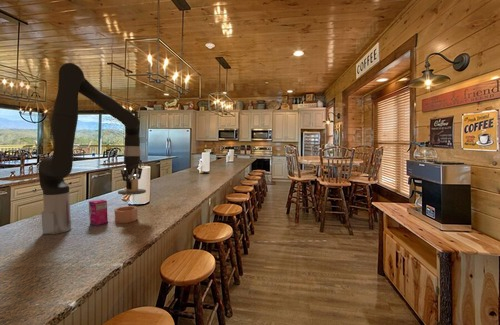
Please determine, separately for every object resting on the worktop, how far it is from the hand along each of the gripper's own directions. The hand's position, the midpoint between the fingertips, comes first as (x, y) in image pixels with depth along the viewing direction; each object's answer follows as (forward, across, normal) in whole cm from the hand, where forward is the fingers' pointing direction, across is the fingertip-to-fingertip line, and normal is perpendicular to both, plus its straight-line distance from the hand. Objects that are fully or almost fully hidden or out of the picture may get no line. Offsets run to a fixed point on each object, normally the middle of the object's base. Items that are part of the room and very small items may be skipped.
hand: (132, 188), depth 126 cm
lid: (+2, 0, 0) cm, 2 cm away
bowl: (+17, +1, -2) cm, 17 cm away
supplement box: (+17, +9, -11) cm, 22 cm away
